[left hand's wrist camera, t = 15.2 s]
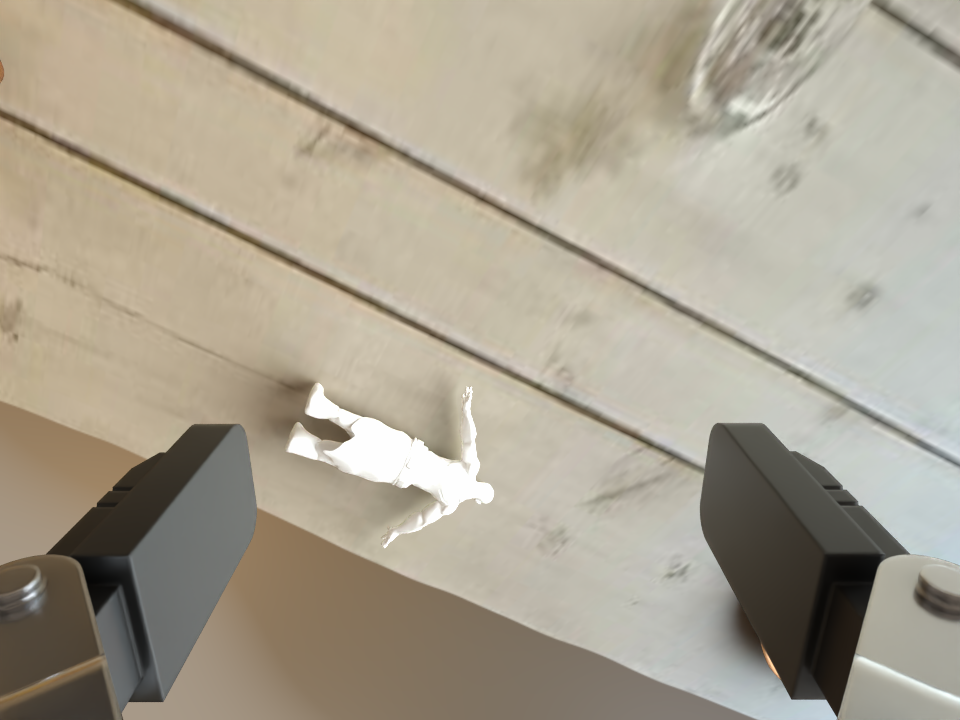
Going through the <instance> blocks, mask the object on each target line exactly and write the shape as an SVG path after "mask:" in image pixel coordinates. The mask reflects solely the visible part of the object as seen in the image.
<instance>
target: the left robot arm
mask: <svg viewBox="0 0 960 720" xmlns="http://www.w3.org/2000/svg"><path fill="white" fill-rule="evenodd" d="M256 515H257V505H256V497H255V491H254V484H253V477H252V470H251V463H250V456H249V449H248V442H247V437H246V433H245V430H244V428H243V427H242V426H241V425H240V424H194V425H192V426H191V427H190V428H189V429H188V430H187V431H186V432H185V433H184V434H183V435H182V436H181V437H180V438H179V439H178V440H177V441H176V442H175V444H174V445H173V446H172V447H171V448H170V449H169V450H168V451H167V452H166V453H158V454H157V455H155V456H153V457H151V458H149V459H148V460H146V461H144V462H142V463H141V464H139V465H137V466H135V467H133V468H132V469H131V470H130V471H129V472H128V473H127V474H126V475H125V476H124V477H123V478H122V479H121V480H120V481H119V482H118V483H117V484H116V485H115V486H114V487H113V491H109V492H108V493H107V494H106V495H105V496H104V497H103V498H102V499H101V500H100V501H99V502H98V503H97V507H93V508H92V509H91V510H90V511H89V512H88V513H87V514H86V515H85V516H84V517H83V518H82V519H81V520H80V521H79V522H78V523H77V524H76V525H75V526H74V527H73V528H72V529H71V530H70V531H69V532H68V533H67V534H66V535H65V536H64V537H63V538H62V539H61V540H60V541H59V542H58V543H57V544H56V545H55V546H54V547H53V548H52V549H51V550H50V551H49V552H48V553H47V554H46V555H38V556H32V557H27V558H22V559H19V560H15V561H12V562H9V563H6V564H3V565H1V566H0V720H123V717H122V714H121V713H122V711H123V710H124V708H125V706H126V705H127V703H128V702H163V701H164V700H165V698H166V696H167V694H168V692H169V690H170V689H171V687H172V685H173V683H174V681H175V679H176V678H177V676H178V674H179V672H180V670H181V668H182V667H183V665H184V663H185V661H186V659H187V657H188V656H189V654H190V652H191V650H192V648H193V646H194V645H195V643H196V641H197V639H198V637H199V635H200V633H201V632H202V630H203V628H204V626H205V624H206V622H207V621H208V619H209V617H210V615H211V613H212V611H213V610H214V608H215V606H216V604H217V602H218V600H219V599H220V597H221V595H222V593H223V591H224V589H225V588H226V586H227V584H228V582H229V580H230V578H231V577H232V575H233V573H234V571H235V569H236V567H237V565H238V564H239V562H240V560H241V558H242V556H243V554H244V552H245V551H246V549H247V547H248V545H249V543H250V541H251V539H252V537H253V534H254V530H255V525H256ZM700 519H701V526H702V530H703V534H704V537H705V539H706V541H707V543H708V545H709V547H710V549H711V550H712V552H713V554H714V556H715V558H716V560H717V562H718V564H719V565H720V567H721V569H722V571H723V573H724V575H725V577H726V578H727V580H728V582H729V584H730V586H731V588H732V590H733V591H734V593H735V595H736V597H737V599H738V601H739V603H740V604H741V606H742V608H743V610H744V612H745V614H746V616H747V617H748V619H749V621H750V623H751V625H752V627H753V629H754V631H755V632H756V634H757V636H758V638H759V640H760V642H761V644H762V645H763V647H764V649H765V651H766V653H767V655H768V657H769V658H770V660H771V662H772V664H773V666H774V668H775V670H776V671H777V673H778V675H779V677H780V679H781V681H782V683H783V684H784V686H785V688H786V690H787V692H788V694H789V696H790V697H791V699H792V700H827V701H828V703H829V705H830V706H831V708H832V710H833V711H834V713H835V715H836V716H837V720H960V566H959V565H957V564H954V563H951V562H948V561H945V560H941V559H938V558H933V557H928V556H922V555H910V554H909V553H908V552H907V551H906V550H905V549H904V547H903V546H902V545H901V544H900V543H899V542H898V541H897V540H896V539H895V538H894V537H893V536H892V535H891V534H890V533H889V532H888V531H887V530H886V529H885V528H884V527H883V526H882V525H881V524H880V523H879V522H878V521H877V520H876V519H875V518H874V517H873V516H872V515H871V514H870V513H869V512H868V511H867V510H866V509H865V508H864V507H863V506H859V505H858V501H857V500H856V499H855V498H854V497H853V496H852V495H851V494H850V493H849V492H848V491H847V490H843V486H842V485H841V484H840V483H839V482H838V481H837V480H836V479H835V478H834V477H833V476H832V475H831V474H830V473H829V472H828V471H827V470H826V469H825V468H824V467H823V466H821V465H819V464H817V463H816V462H814V461H812V460H810V459H808V458H807V457H805V456H803V455H801V454H800V453H798V452H796V451H789V450H788V449H787V448H786V447H785V446H784V445H783V444H782V443H781V442H780V441H779V439H778V438H777V437H776V436H775V435H774V434H773V433H772V432H771V431H770V430H769V429H768V428H767V427H766V426H765V425H764V424H762V423H717V424H715V425H714V426H713V428H712V430H711V433H710V438H709V445H708V452H707V459H706V466H705V473H704V480H703V487H702V494H701V501H700Z"/></svg>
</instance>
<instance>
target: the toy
mask: <svg viewBox="0 0 960 720" xmlns="http://www.w3.org/2000/svg"><path fill="white" fill-rule="evenodd" d="M3 77H4V69H3V66H2V63H1V61H0V83H1V81H2V80H3Z"/></svg>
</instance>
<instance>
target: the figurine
mask: <svg viewBox="0 0 960 720" xmlns="http://www.w3.org/2000/svg"><path fill="white" fill-rule="evenodd" d="M471 389H472V387H469V390H468V387H466V389H465V396H464V394H462V403H461V407H462V422H461V427H460V435H461V439H462V445H461V452H462V460H450V459H446V458H443V457H440V456H437V455H436V454H434V453H433V452H432V451H428V448H427V447H426V446H424V445H423V444H424V442H423V441H421V440H419V439H417V438H414V439H413V440H412V439H411V438H410V437H409V436H408V435H407V434H405V433H404V432H402V431H398V430H395V429H392V428H390V427H388V426H386V425H385V424H383V423H382V422H380V421H378V420H375V419H373V418H368V417H361V416H359V415H356V414H353V413H351V412H348V411H346V410H344V409H341V408H340V409H339V407H338V406H337V405H335V404H333V403H332V402H330V401H329V400H328V399H327V398H326V397H325V396H324V395H323V388H322V386H321V384H319V383H315V384H314V386H313V388H312V390H311V392H310V394H309V396H308V401H307V404H306V407H305V410H304V411H305V413H306V414H307V415H309V416H312V417H315V418H319V419H329V420H330V421H331V422H333V423H335V424H337V425H338V426H340V427H341V428H343V429H345V430H346V432H347V433H348V435H349V436H350V437H351V438H352V439H350V440H348V441H346V442H344V443H340V442H336V441H331V440H321V439H320V438H318V437H316V436H314V435H312V434H311V433H309V432H308V431H307V430H306V429H305V428H304V427H303V425H302V424H301V423H300V422H297V423H296V424H295V425H294V427H293V429H292V431H291V434H290V437H289V439H288V443H287V446H286V449H285V451H286V452H290V453H294V454H297V455H301V456H304V457H307V458H310V459H317V460H319V461H323V462H326V463H328V464H330V465H332V466H335V467H336V468H337V469H339V470H341V471H342V472H344V473H349V474H353V475H357V476H360V477H362V478H364V479H367V480H370V481H373V482H387V483H391V484H392V485H396V486H398V487H399V488H406V487H408V486H409V485H410V484H412V485H414V486H416V487H419V488H421V489H423V490H425V491H427V492H429V493H431V494H432V496H433V497H434V498H435V499H437V500H436V501H434V502H432V503H430V504H429V505H428V506H426V507H425V508H424V510H423V511H417V512H414V513H412V514H411V515H410V516H409V517H408V518H407V519H406V520H405V521H404V522H403V523H401V524H400V525H399V526H396V527H392V528H391V527H389V526H388V527H387V528H388V529H389V531H388V532H387V534H385V535H384V536H382V537H381V538H382V539H384V538H385V539H384V540H383V541H382V543H381V545H382V546H383V547H384V548H386V547H387V545H388V544H389V542H391V541H392V540H393V539H394V538H395V537H396V536H398V535H399V534H402V533H410V532H414V531H418V530H420V529H421V528H422V527H424V526H425V525H427V524H429V523H432V522H434V521H436V520H437V519H439V518H440V517H441V516H442V515H448V514H450V513H452V512H453V511H454V510H455V509H456V507H457V505H458V504H459V503H460V502H462V501H464V500H465V499H470V498H474V500H475V501H476V502H478V503H479V504H480V502H482V503H488V502H490V501H491V500H492V498H493V495H494V492H493V489H492V487H491V486H490V485H489V484H488V483H483V482H477V481H476V479H475V475H476V474H477V472H478V470H479V466H480V464H479V461H478V459H477V457H476V449H475V441H474V439H475V436H476V430H475V425H474V422H473V420H472V417H471V414H470V403H471V402H470V400H471V398H472V395H471V394H472V390H471Z"/></svg>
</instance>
